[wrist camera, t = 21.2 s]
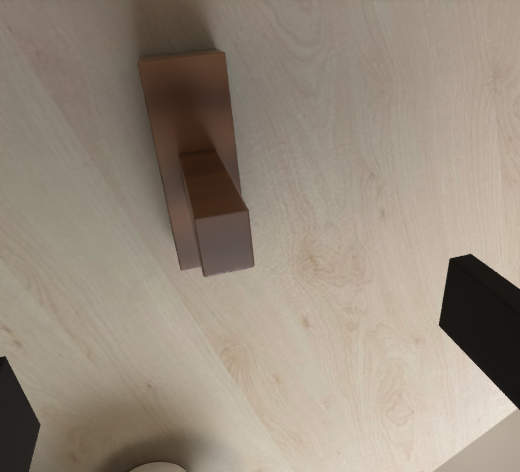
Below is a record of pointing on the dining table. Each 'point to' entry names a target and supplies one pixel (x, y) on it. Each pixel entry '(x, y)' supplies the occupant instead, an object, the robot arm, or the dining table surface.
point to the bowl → (159, 467)
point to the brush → (198, 158)
